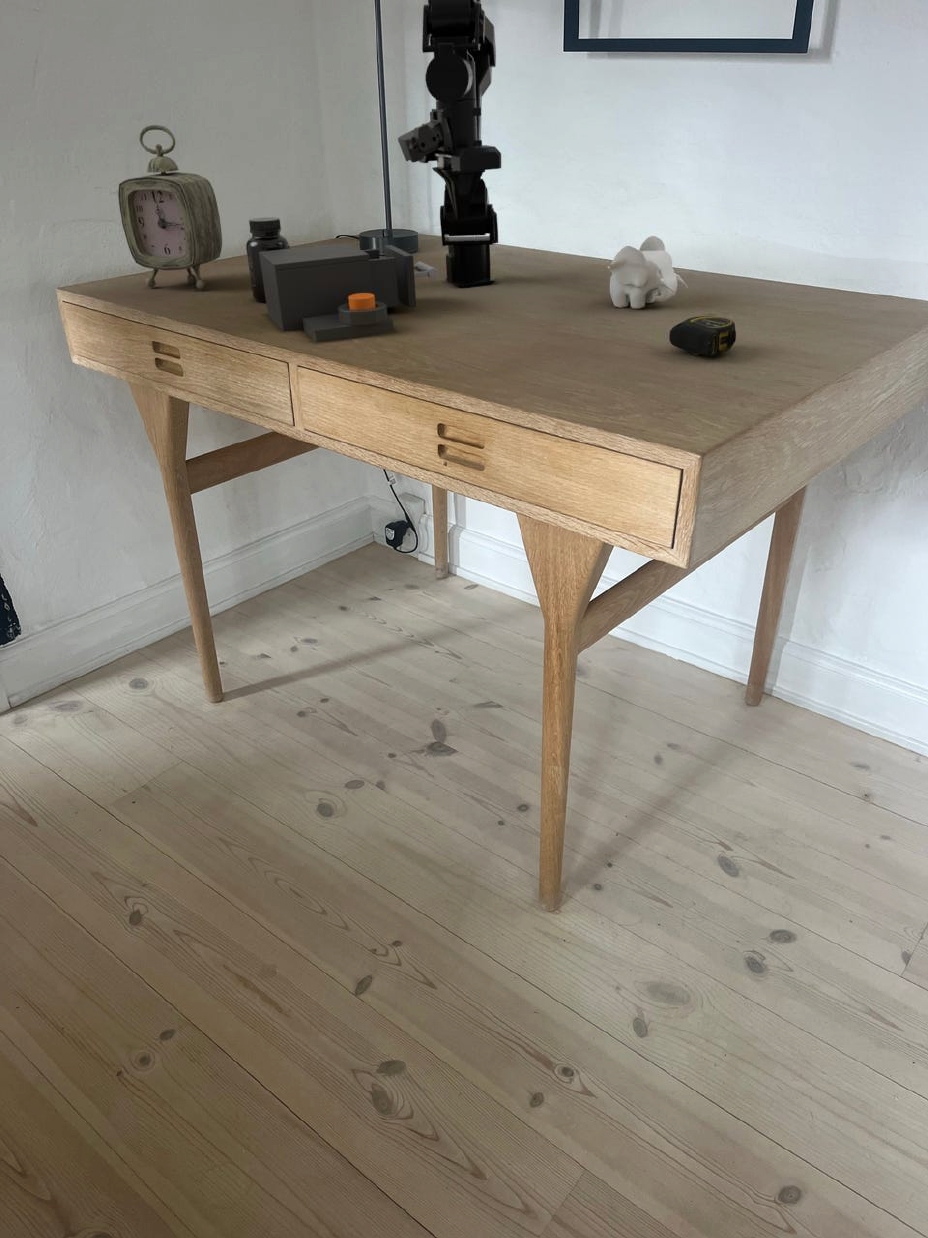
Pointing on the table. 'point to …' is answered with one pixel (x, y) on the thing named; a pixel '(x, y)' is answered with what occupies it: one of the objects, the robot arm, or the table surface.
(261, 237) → the supplement bottle
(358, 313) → the pad
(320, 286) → the grey lidded box
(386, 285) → the box with white handle
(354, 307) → the button
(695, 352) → the tape measure
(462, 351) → the table surface
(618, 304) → the elephant figurine
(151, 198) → the tabletop clock
